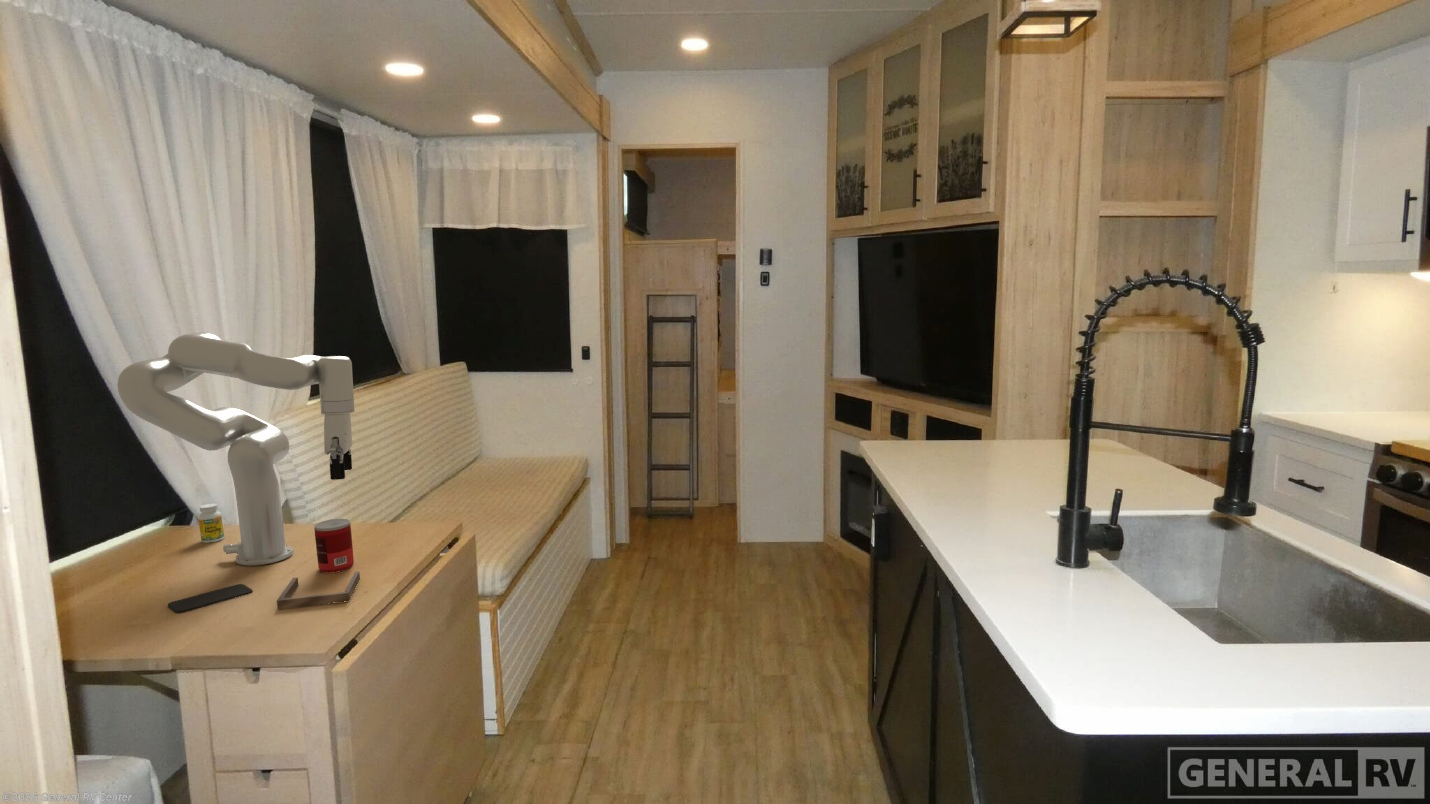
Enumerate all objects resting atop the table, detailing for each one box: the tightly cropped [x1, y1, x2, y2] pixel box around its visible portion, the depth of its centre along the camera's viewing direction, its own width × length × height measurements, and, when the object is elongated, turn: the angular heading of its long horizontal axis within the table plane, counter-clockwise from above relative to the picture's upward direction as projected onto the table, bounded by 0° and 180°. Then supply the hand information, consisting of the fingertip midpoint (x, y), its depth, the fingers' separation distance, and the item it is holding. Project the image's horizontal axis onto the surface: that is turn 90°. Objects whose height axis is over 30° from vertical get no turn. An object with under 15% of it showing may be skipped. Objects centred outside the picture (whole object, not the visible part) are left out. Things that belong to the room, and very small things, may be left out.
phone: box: [167, 583, 253, 614], centre depth 179 cm, size 7×1×15 cm
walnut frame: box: [276, 571, 361, 611], centre depth 180 cm, size 14×14×2 cm
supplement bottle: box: [197, 503, 225, 544], centre depth 219 cm, size 5×5×10 cm
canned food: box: [314, 518, 355, 574], centre depth 196 cm, size 8×8×11 cm
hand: (341, 474), depth 204 cm, fingers open, 9 cm apart
